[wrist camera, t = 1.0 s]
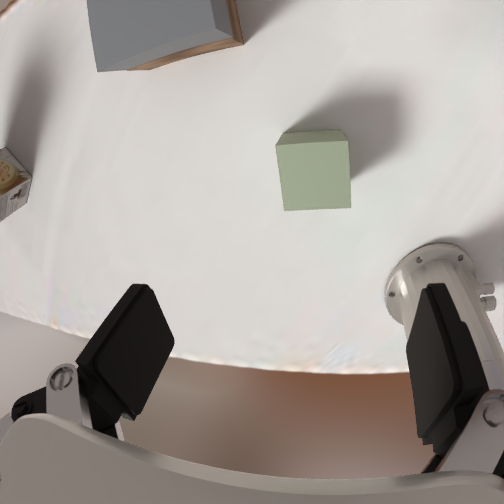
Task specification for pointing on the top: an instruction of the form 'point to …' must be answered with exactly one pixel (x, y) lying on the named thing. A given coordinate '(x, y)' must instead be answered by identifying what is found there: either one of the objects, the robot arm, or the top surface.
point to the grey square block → (152, 29)
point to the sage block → (314, 170)
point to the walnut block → (204, 48)
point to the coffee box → (12, 184)
